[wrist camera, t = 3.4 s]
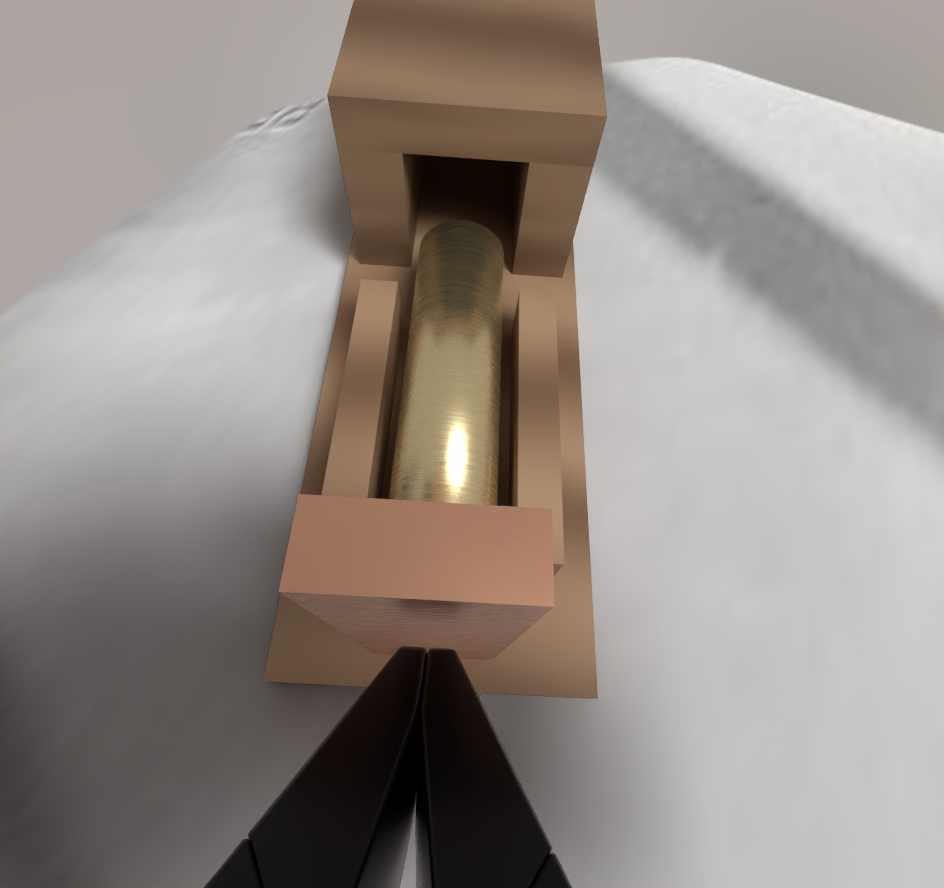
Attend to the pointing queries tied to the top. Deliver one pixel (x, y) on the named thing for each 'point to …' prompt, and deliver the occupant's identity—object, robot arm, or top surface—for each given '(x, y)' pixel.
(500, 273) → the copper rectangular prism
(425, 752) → the robot arm
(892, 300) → the top surface
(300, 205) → the top surface
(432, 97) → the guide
